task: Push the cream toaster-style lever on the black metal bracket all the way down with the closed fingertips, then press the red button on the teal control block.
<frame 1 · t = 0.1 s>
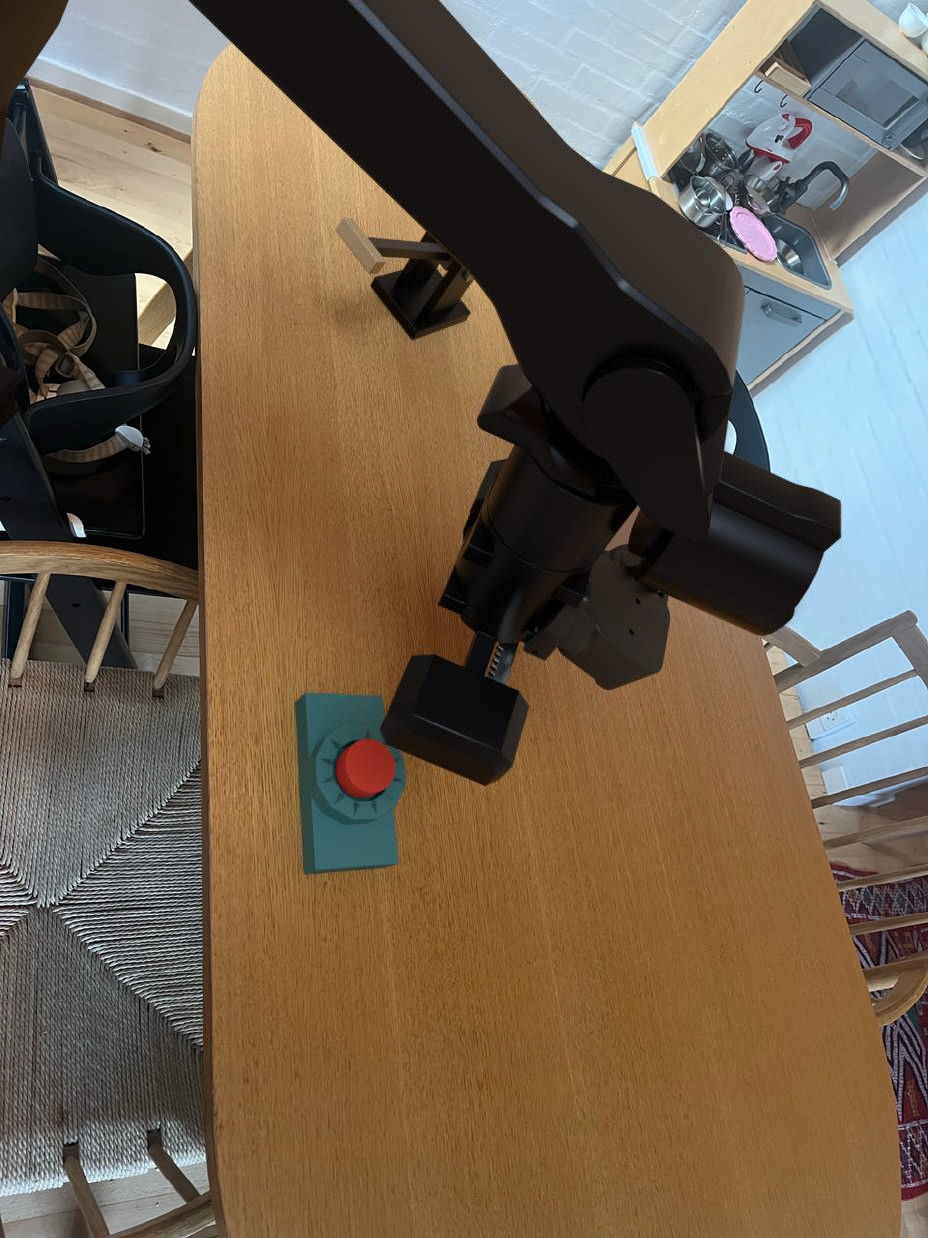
hand: (451, 675, 47), 13 cm above the table, tool pointing down, fingers open, 9 cm apart
switch bracket: (419, 303, 81), on the table
travel mug: (541, 577, 74), on the table
button: (365, 768, 51), point 5 cm above the table, slide at 0.2 cm
lever: (413, 249, 69), point 9 cm above the table, hinge at 15.0°
button block: (339, 783, 55), on the table
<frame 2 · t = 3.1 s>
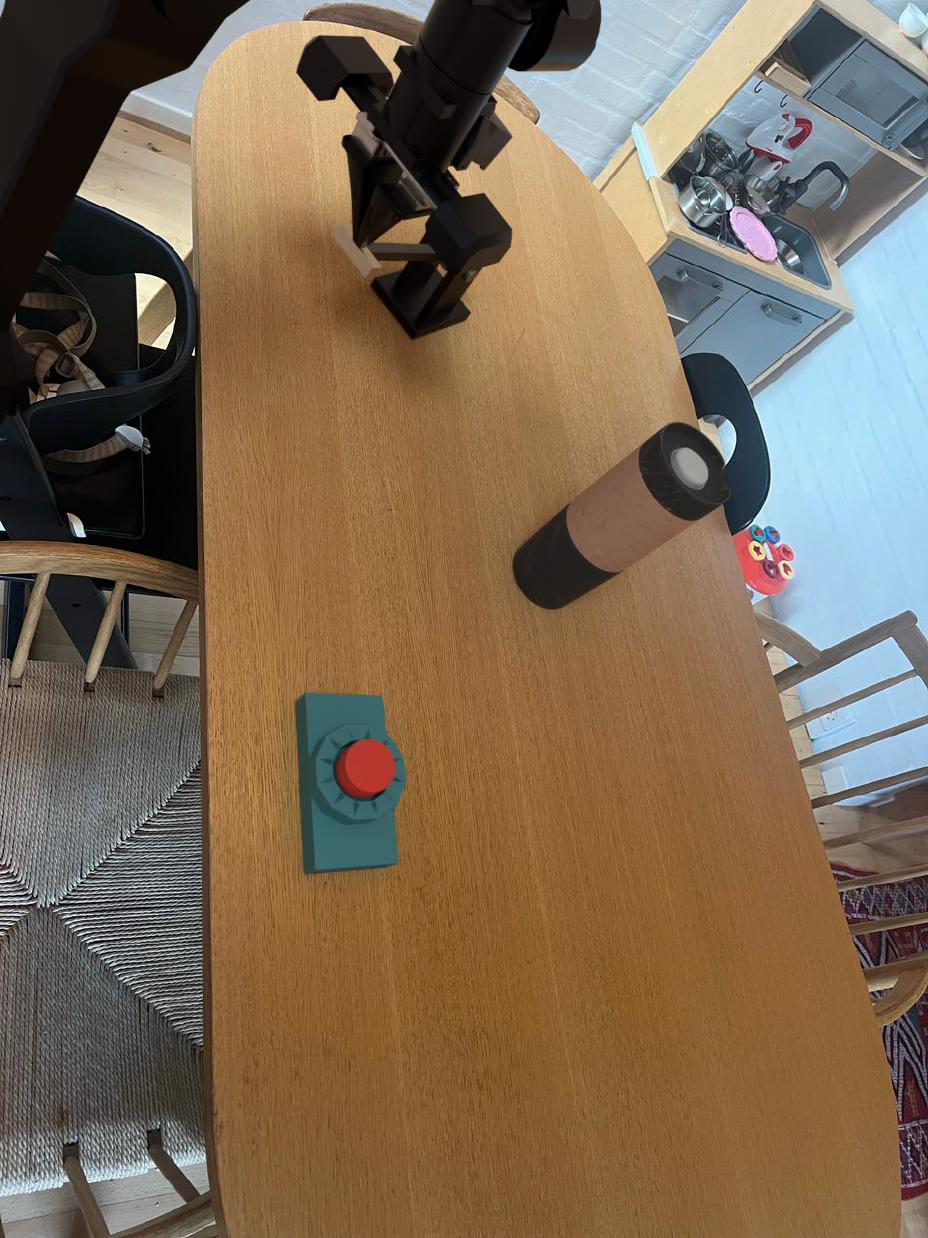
hand: (359, 244, 62), 11 cm above the table, tool pointing down, fingers closed, pressing on lever
lever: (411, 252, 69), point 9 cm above the table, hinge at 12.9°, touching gripper
everything else where it was.
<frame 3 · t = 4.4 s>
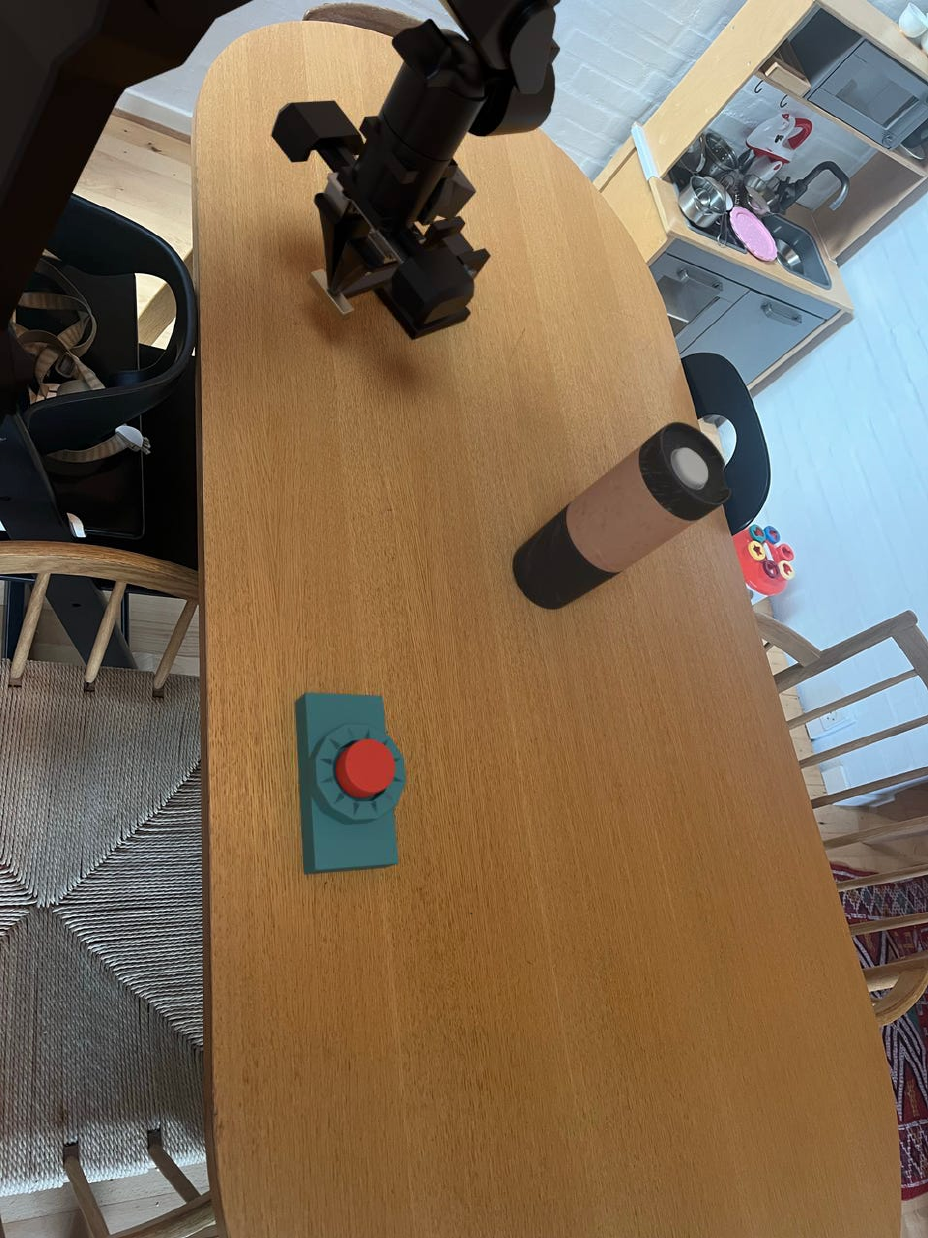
hand: (334, 290, 66), 6 cm above the table, tool pointing down, fingers closed, pressing on lever
lever: (398, 272, 71), point 6 cm above the table, hinge at -5.1°, touching gripper
everything else where it was.
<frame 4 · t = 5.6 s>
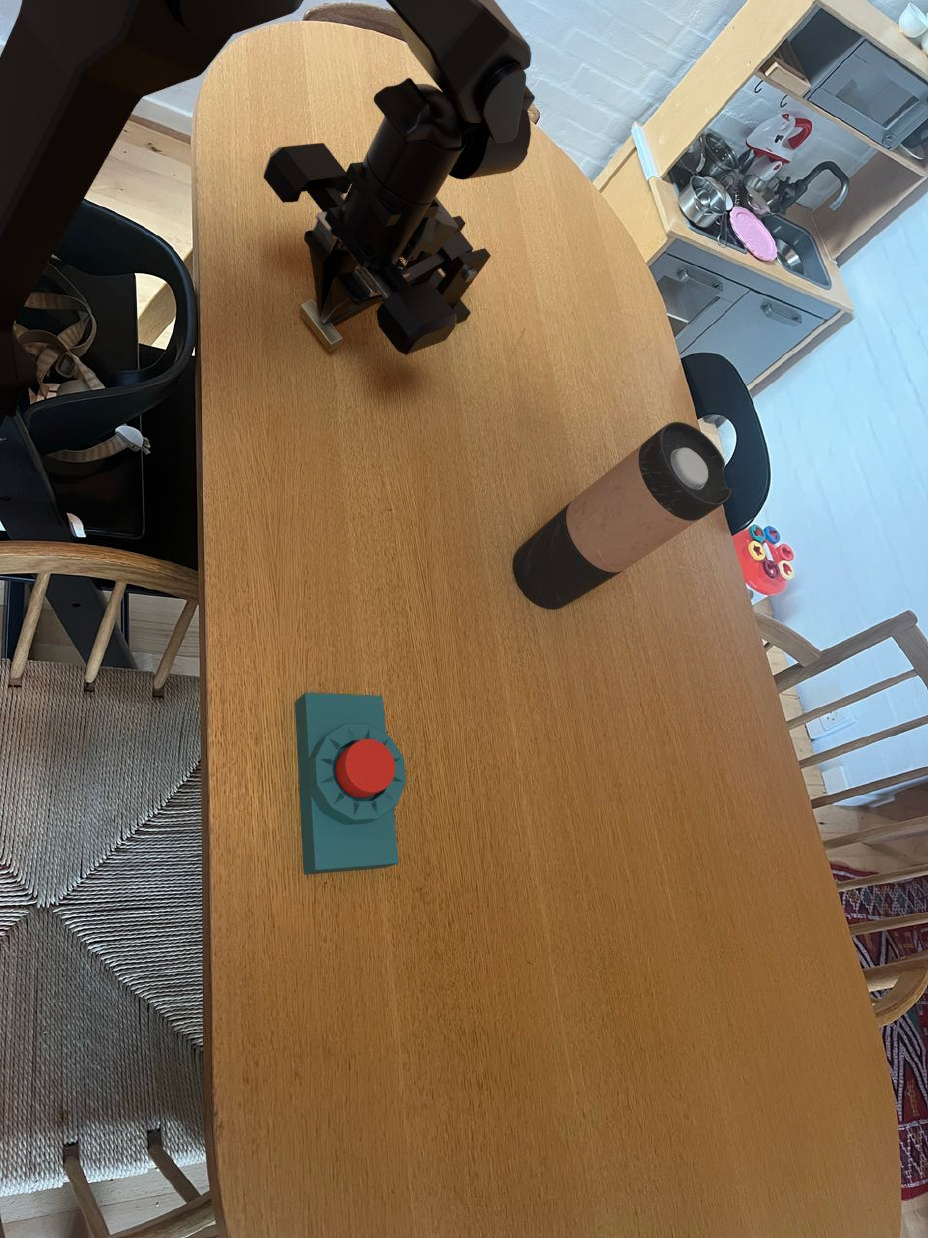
hand: (324, 319, 69), 2 cm above the table, tool pointing down, fingers closed, pressing on lever
lever: (392, 286, 73), point 4 cm above the table, hinge at -19.6°, touching gripper
everything else where it was.
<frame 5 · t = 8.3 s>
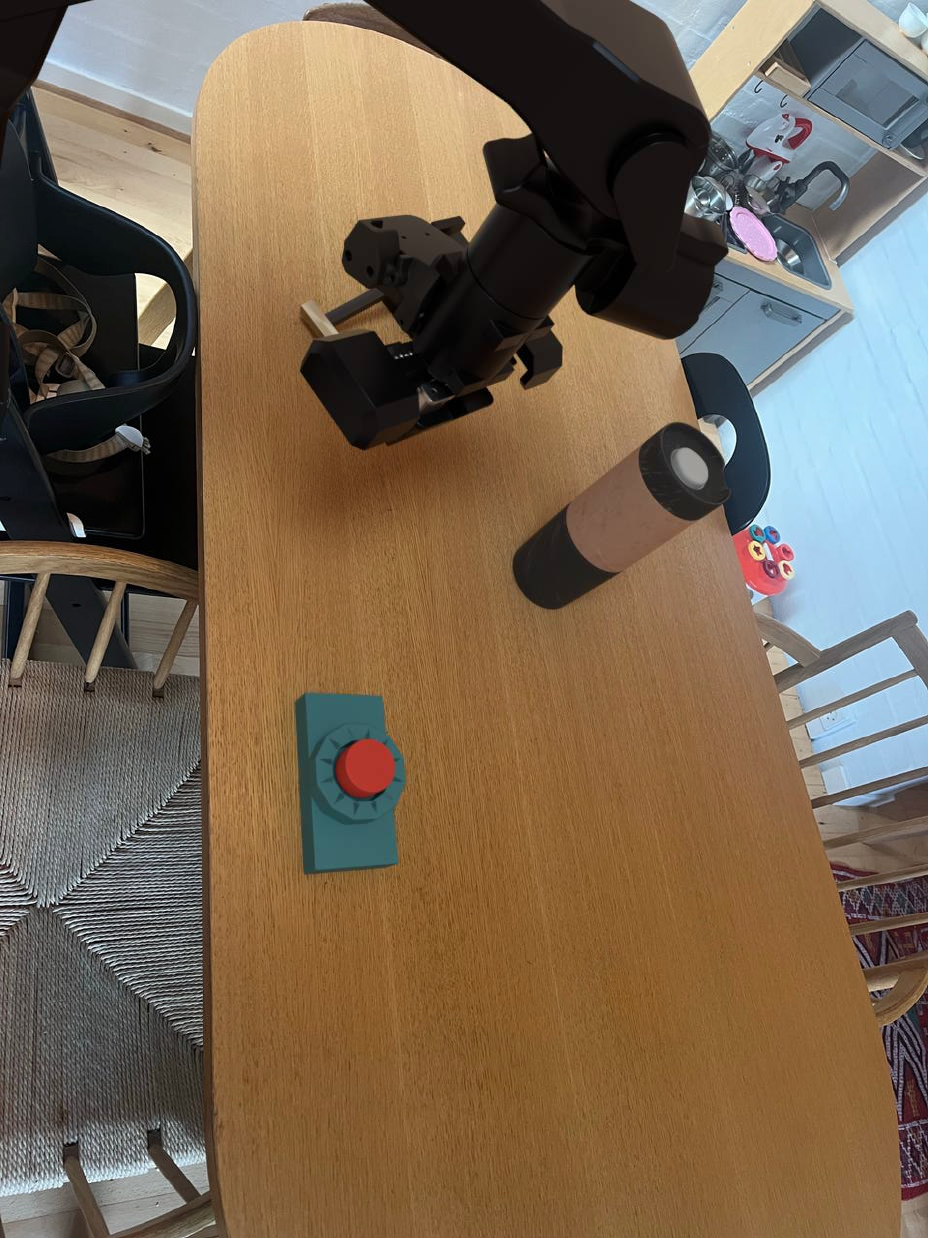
hand: (387, 439, 54), 12 cm above the table, tool pointing down, fingers closed
lever: (392, 286, 73), point 4 cm above the table, hinge at -19.6°
everything else where it was.
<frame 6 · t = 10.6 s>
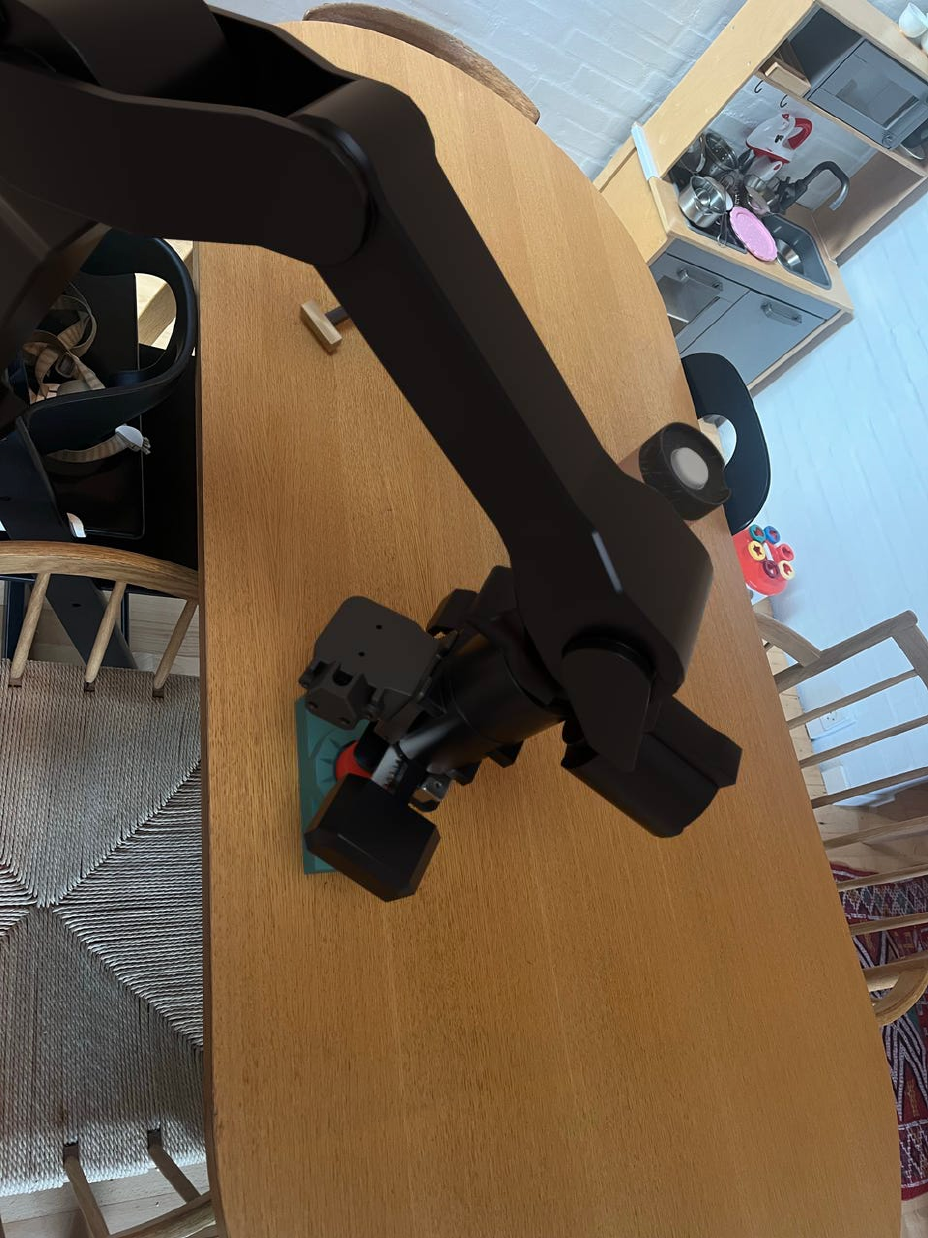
hand: (370, 764, 51), 5 cm above the table, tool pointing down, fingers closed, pressing on button
button: (365, 768, 51), point 5 cm above the table, slide at 0.1 cm, touching gripper
everything else where it was.
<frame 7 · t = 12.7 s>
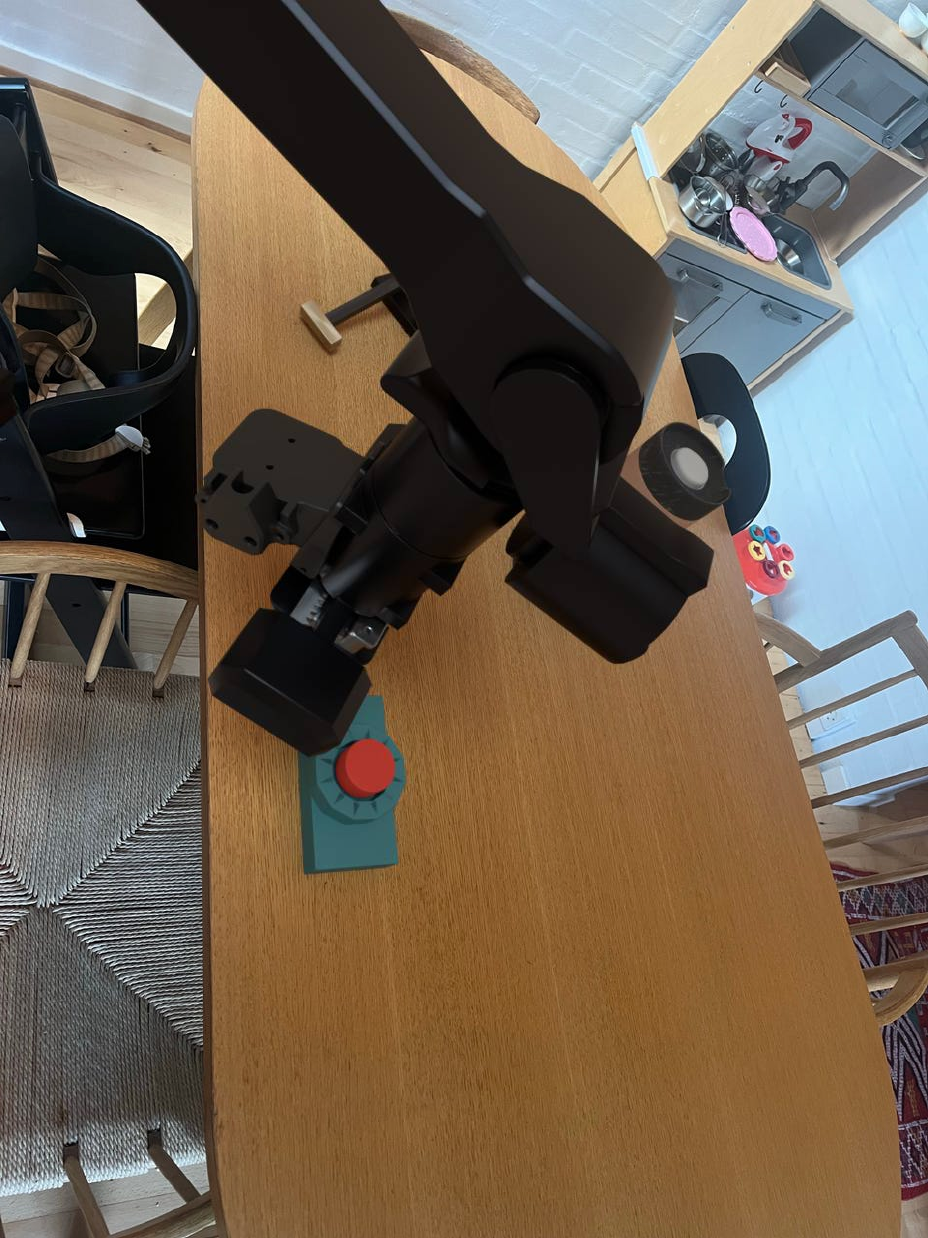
hand: (300, 632, 45), 11 cm above the table, tool pointing down, fingers closed
button: (365, 768, 51), point 5 cm above the table, slide at 0.2 cm
everything else where it was.
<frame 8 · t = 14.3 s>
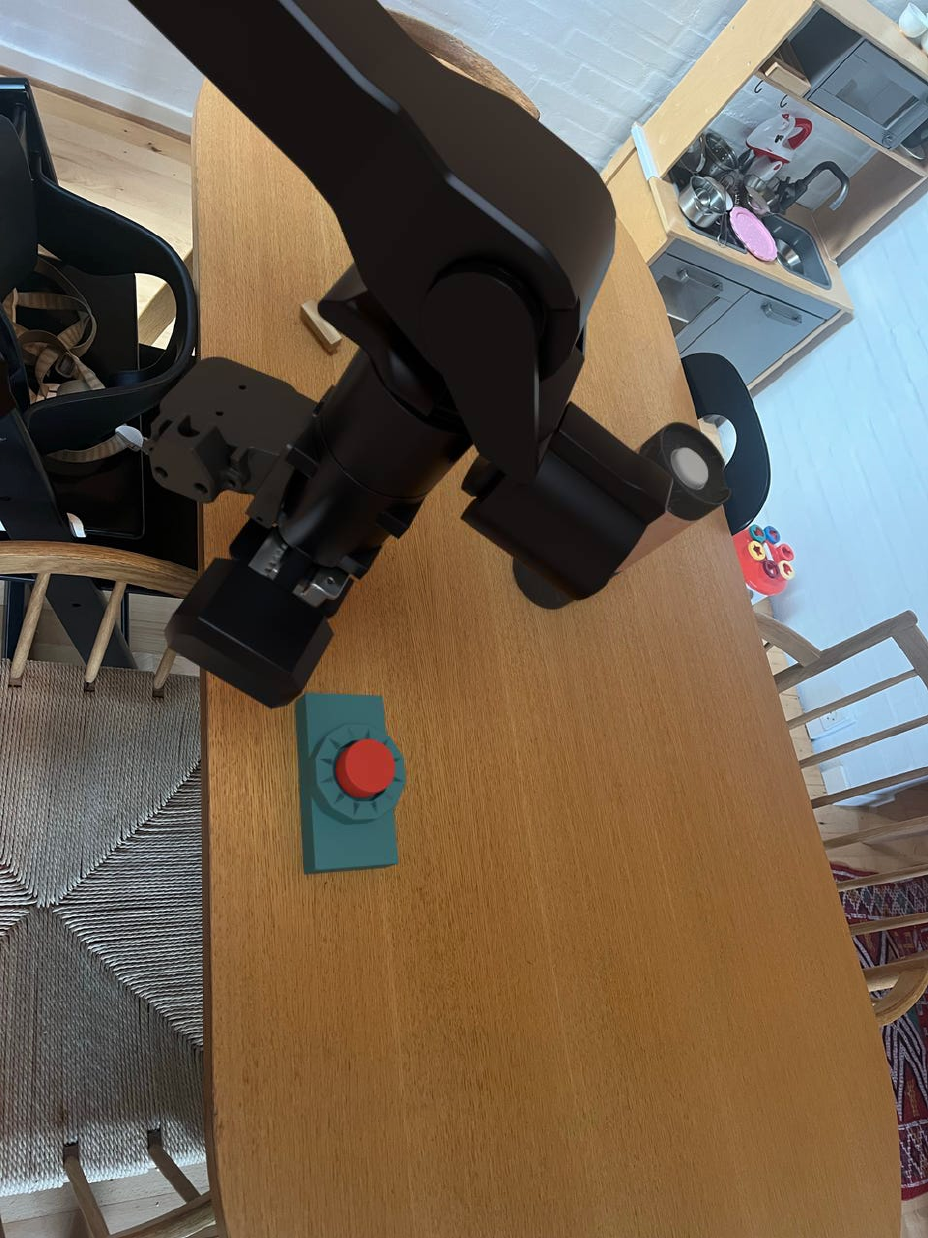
hand: (268, 594, 44), 12 cm above the table, tool pointing down, fingers closed
nothing on the table moved.
at the end: lever at -20° (first picture: +15°); button pushed in 1.1 cm at the most during the clip, back to 0.2 cm at the end; button slide at 0.2 cm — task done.
